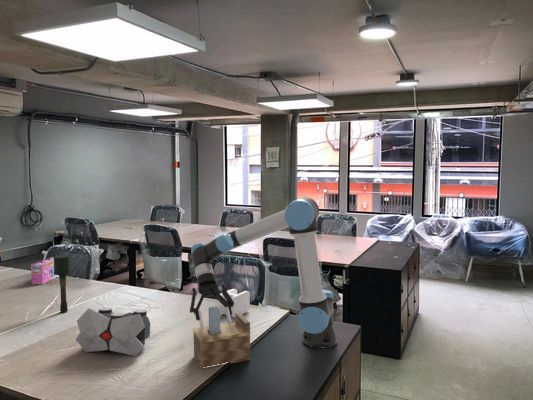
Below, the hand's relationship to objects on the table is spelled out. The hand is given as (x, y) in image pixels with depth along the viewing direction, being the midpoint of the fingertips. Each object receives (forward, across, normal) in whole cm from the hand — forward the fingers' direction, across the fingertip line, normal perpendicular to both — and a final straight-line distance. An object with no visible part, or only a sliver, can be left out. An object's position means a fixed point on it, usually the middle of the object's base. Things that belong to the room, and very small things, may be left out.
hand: (216, 325), depth 166 cm
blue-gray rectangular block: (+5, 0, -9) cm, 11 cm away
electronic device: (-10, +35, -32) cm, 48 cm away
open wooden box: (+9, -3, -13) cm, 16 cm away
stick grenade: (-51, +58, -73) cm, 106 cm away
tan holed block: (+1, -3, -5) cm, 6 cm away
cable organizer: (-24, -24, -46) cm, 57 cm away
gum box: (-103, +70, -125) cm, 177 cm away
